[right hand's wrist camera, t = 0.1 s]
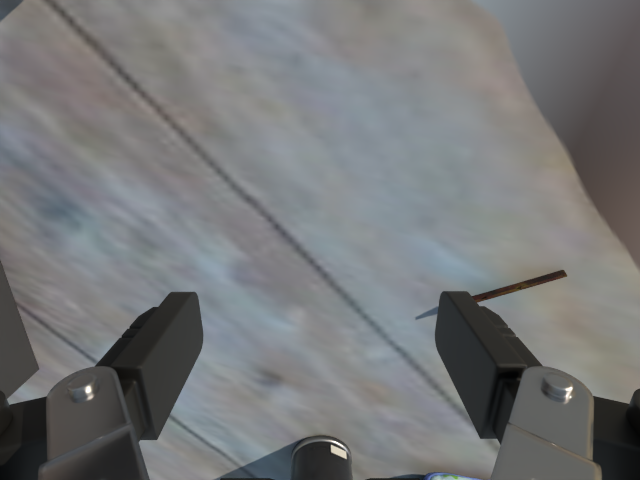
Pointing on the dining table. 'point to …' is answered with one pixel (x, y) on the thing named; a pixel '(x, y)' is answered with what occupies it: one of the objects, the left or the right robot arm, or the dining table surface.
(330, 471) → the right robot arm
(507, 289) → the ruler
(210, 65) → the dining table surface
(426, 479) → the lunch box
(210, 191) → the dining table surface
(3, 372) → the box
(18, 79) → the dining table surface
